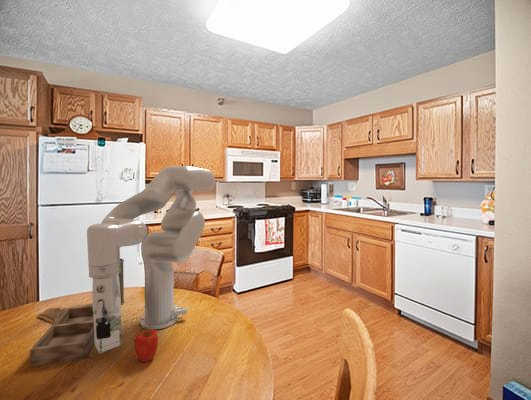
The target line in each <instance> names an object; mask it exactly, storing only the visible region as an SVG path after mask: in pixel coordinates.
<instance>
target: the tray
mask: <svg viewBox="0 0 531 400" xmlns="http://www.w3.org/2000/svg"><path fill="white" fill-rule="evenodd" d="M94 347H95V345H94V325H93V304H91V305H85V306H84V305H83V306H74V307H67V308H66V310H65V312H64V313H62V315H61V316H60V317H59V318H58V319H57V320H56V322H55V323H53V324H52V325H51V326H50V327H49V328H48V329H47V330H46V332H45V333H43V335H42V336H41V337H40V338H39V340H37V342H36V343H35V344H34V345H33V346H32V347H31V348H30V349H29V357H30V359H29V361H30V362H29V363H30V367H38V366H43V365H50V364H57V363H64V362H70V361H77V360H83V359H84V360H85V359H88V358H89V357H90V354H91V352H92V350H93V348H94Z"/></svg>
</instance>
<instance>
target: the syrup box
mask: <svg viewBox="0 0 531 400" xmlns="http://www.w3.org/2000/svg"><path fill="white" fill-rule="evenodd" d="M91 303H92V304H93V298H92V302H91ZM103 312H107V310H106V309H103ZM95 316H96V315H95V314H94V313H93V325H94V347H95V348H96V351H98V353H99V354H100V355H101V354H104V353H106V352H109V351H111V350H114V349H117V348H119V347H121V346H122V345H123V343H122V342H123V340H122V339H123V337H122V332H123V331H122V305H121V298H120V297H119V296H118V295H117V298H116V310H115V311H114V312H113V313H111V312H110V313H109V322H110V331H111V336H110V337H109V338H103V339H97V336H96V319H95ZM103 317H105V319H106V314H105V315H103Z"/></svg>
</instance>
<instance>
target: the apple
mask: <svg viewBox="0 0 531 400" xmlns="http://www.w3.org/2000/svg"><path fill="white" fill-rule="evenodd" d="M133 339H134V340H133V347H134V353H135V355H136V358H137V359H138V360H139V361H141V362H143V363H147V362H150V361H151V360H153V359H154V357H155V356H156V353H157V349H158V344H159V335H158V332H157V331H156V329H155V330H152V329H145V330H142V331H140V332H138V333H136V335H135V337H134V338H133Z"/></svg>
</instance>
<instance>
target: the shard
mask: <svg viewBox="0 0 531 400" xmlns="http://www.w3.org/2000/svg"><path fill="white" fill-rule="evenodd" d="M66 309H67V308H66V307H62V306H60V307H50V308H49V307H48V308H46V309H44V310H43V311H42V312H40V313H39V314H38V315H37V317H38V318H39V319H43V320H45V321H47V322H49V323H51V324H52V323H53V324H54V323H55V322H56V320H57V319H58V318H59V317H60V316H61V315H62V314H63V313H64V312H65V310H66Z"/></svg>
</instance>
